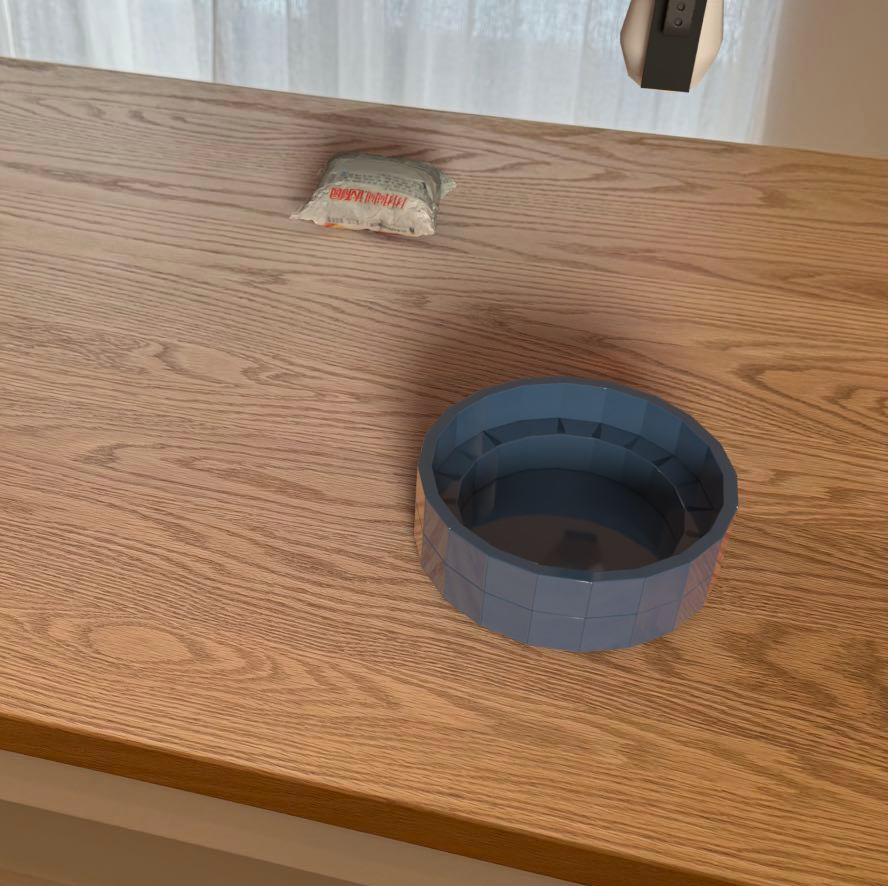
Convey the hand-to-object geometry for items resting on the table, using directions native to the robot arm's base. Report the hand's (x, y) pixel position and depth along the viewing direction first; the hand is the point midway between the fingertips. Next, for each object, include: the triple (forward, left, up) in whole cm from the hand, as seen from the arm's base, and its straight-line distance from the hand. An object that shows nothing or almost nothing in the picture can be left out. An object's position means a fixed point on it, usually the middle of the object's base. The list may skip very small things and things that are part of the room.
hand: (667, 64), depth 73 cm
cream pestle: (0, 0, -1) cm, 1 cm away
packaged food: (+20, -15, -21) cm, 33 cm away
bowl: (+2, +20, -21) cm, 29 cm away
